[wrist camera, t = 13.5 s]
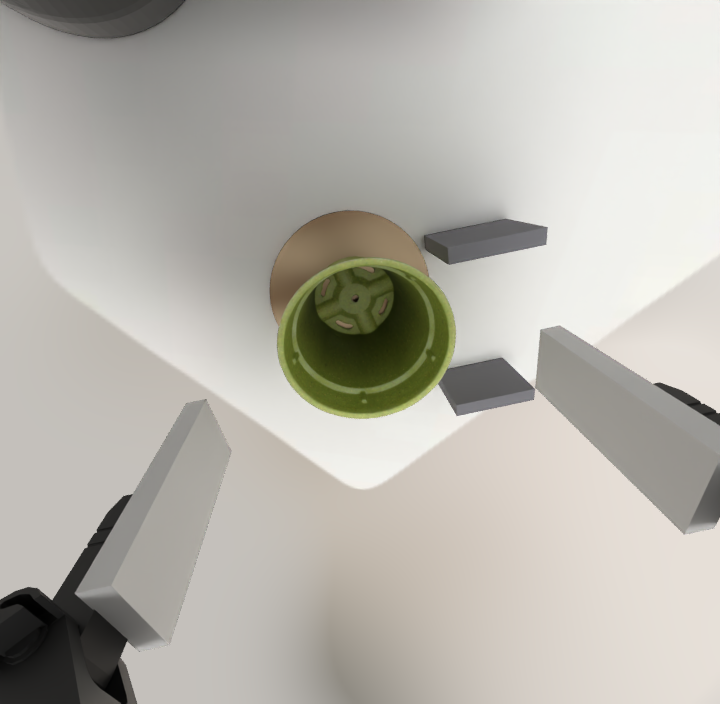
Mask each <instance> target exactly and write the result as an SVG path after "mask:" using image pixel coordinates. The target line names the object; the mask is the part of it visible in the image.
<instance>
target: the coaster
mask: <svg viewBox="0 0 720 704" xmlns="http://www.w3.org/2000/svg"><path fill="white" fill-rule="evenodd" d="M352 256H358V257H380V258H387V259H393V260H397V261H400V262H403V263H406V264H408V265H410V266H412V267H414V268H416V269H418V270H419V271H421V272H422V273H424V274H425V275H427V276H428V270H427V267H426V263H425V260H424V258H423V256H422V254H421V252H420V250H419V248H418V247H417V245H416V244H415V242H414V241H413V240H412V239H411V238H410V236H409V235H408V234H407V233H406V232H405V231H403V230H402V229H401V228H400V227H399V226H397V225H395V224H394V223H392V222H391V221H389V220H387V219H385V218H383V217H381V216H378V215H375V214H371V213H367V212H361V211H341V212H334V213H330V214H327V215H323V216H321V217H319V218H316V219H314V220H312V221H310V222H309V223H307V224H306V225H304V226H303V227H301V228H300V229H299V230H298V231H297V232H295V233H294V234H293V235H292V237H291V238H290V239H289V240H288V241H287V242H286V244H285V245H284V247H283V248H282V250H281V251H280V253H279V255H278V257H277V259H276V261H275V264H274V267H273V270H272V274H271V280H270V301H271V306H272V310H273V314H274V317H275V319H276V322H277V324H278V326H279V325H280V321H281V318H282V315H283V313H284V311H285V308H286V306H287V305H288V303H289V301H290V300H291V298H292V297H293V295H294V294H295V293H296V291H297V290H298V289H299V288H300V287H301V286H302V285H303V284H304V283H305V282H306V281H307V280H308V279H310V278H311V277H312V276H314V275H315V274H317V273H318V272H320V271H321V270H323V269H325V268H327V267H328V266H329V265H330V264H332V263H334V262H335V261H338V260H340V259H343V258H346V257H352ZM358 268H362V269H365V270H367V271H369V272H371V273H374V272H375V270H374V269H373V268H372V267H358ZM428 277H429V276H428ZM329 282H330V280H329V279H326V280H325V282H324V283H323V289H322V292H321V295H322V296H325V292H326V289H327V286H328V284H329ZM352 301H353V302H357V301H358V296H357V295H354V296H353V298H352ZM387 303H388V300H387V299H385V300H384V303H383V306H382V308H381V309H380V311H379V314H382V313H384V311H385V309H386V306H387ZM336 323H337V324H338V325H339V326H341V327H344V328H348V329H349V328H352V327H353V326H352V325H351V324H345V323H343V322H341V321H339V320H338V321H336Z"/></svg>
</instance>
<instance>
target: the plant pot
mask: <svg viewBox="0 0 720 704" xmlns="http://www.w3.org/2000/svg"><path fill="white" fill-rule="evenodd" d="M358 267H372V268H373V269H374V270H375V272H374V273H371V272H369V271H367V270H365V269H362V268H358ZM326 279H329V280H330V282H329V284H328V286H327V289H326V292H325V296H322V295H321V292H322V289H323V283H324V282H325V280H326ZM354 295H357V296H358V301H357V302H353V301H352V298H353V296H354ZM385 299H387V300H388V303H387V306H386V309H385V311H384V313H382V314H379V311H380V309H381V308H382V306H383V303H384V300H385ZM338 320H339V321H341V322H343V323H345V324H351V325H352V326H353V327H352V328H349V329H348V328H344V327H341V326H339V325H338V324H337V323H336V321H338ZM455 339H456V328H455V321H454V316H453V313H452V310H451V307H450V305H449V302H448V300H447V298H446V296H445V295H444V293H443V292H442V290H441V289H440V288H439V287H438V286H437V284H436V283H435V282H434V281H433V280H431V279H430V278H429V277H428V276H427V275H425V274H424V273H422V272H421V271H419V270H418V269H416V268H414V267H412V266H410V265H408V264H406V263H403V262H400V261H397V260H393V259H387V258H380V257H358V256H352V257H346V258H343V259H340V260H338V261H335V262H334V263H332V264H330V265H329V266H328V267H327V268H325V269H323V270H321V271H320V272H318V273H317V274H315V275H314V276H312V277H311V278H310V279H308V280H307V281H306V282H305V283H304V284H303V285H302V286H301V287H300V288H299V289H298V290H297V291H296V293H295V294H294V295H293V297H292V298H291V300H290V301H289V303H288V305H287V306H286V308H285V311H284V313H283V315H282V318H281V321H280V325H279V329H278V336H277V350H278V358H279V362H280V365H281V368H282V370H283V372H284V375H285V377H286V378H287V380H288V382H289V383H290V385H291V386H292V388H293V389H294V390H295V391H296V392H297V393H298V394H299V395H300V396H301V397H302V398H303V399H304V400H306V401H307V402H308V403H310V404H311V405H313V406H315V407H316V408H318V409H320V410H322V411H325V412H327V413H330V414H334V415H337V416H341V417H347V418H355V419H368V418H376V417H382V416H387V415H390V414H393V413H396V412H399V411H402V410H404V409H406V408H408V407H410V406H412V405H413V404H415V403H416V402H418V401H419V400H421V399H422V398H423V397H424V396H426V395H427V394H428V393H429V392H430V391H431V390H432V389H433V388H434V387H435V386H436V385H437V384H438V383H439V381H440V380H441V379H442V377H443V375H444V374H445V372H446V370H447V368H448V366H449V364H450V362H451V359H452V356H453V352H454V347H455Z"/></svg>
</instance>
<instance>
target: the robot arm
mask: <svg viewBox="0 0 720 704" xmlns="http://www.w3.org/2000/svg"><path fill="white" fill-rule="evenodd" d="M183 1H184V0H0V2H1V3H3V4H4V5H6V6H8V7H10V8H12V9H13V10H15V11H17V12H19V13H21V14H22V15H24V16H26V17H28V18H30V19H32V20H34V21H36V22H39V23H41V24H43V25H46V26H48V27H51V28H53V29H56V30H59V31H63V32H66V33H70V34H74V35H79V36H85V37H94V38H113V37H121V36H127V35H131V34H135V33H138V32H141V31H143V30H146V29H148V28H150V27H152V26H154V25H156V24H158V23H159V22H161V21H162V20H164V19H165V18H166V17H168V16H169V15H170V14H172V13H173V12H174V11H175V10H176V9H177V8H178V7H179V6H180V5H181V4H182V3H183ZM535 388H536V389H537V390H538V391H539V392H540V393H541V394H542V395H544V397H545V398H546V399H547V400H548V401H549V402H551V404H552V405H553V406H554V407H556V408H557V410H558V411H559V412H561V413H562V414H563V415H564V416H565V417H566V418H567V419H568V420H569V421H570V422H571V423H572V424H573V425H574V426H575V427H576V428H577V429H578V430H579V431H580V432H581V433H582V434H583V435H584V436H585V437H586V438H587V439H588V440H589V441H590V442H591V443H592V444H593V445H594V446H595V447H596V448H597V449H598V450H599V451H600V452H601V453H602V454H603V455H604V456H605V457H606V458H607V459H608V460H609V461H610V462H611V463H612V464H613V465H614V466H616V468H617V469H618V470H620V472H621V473H622V474H623V475H624V476H625V477H626V478H627V479H629V480H630V481H631V482H632V483H633V484H634V485H635V486H636V487H637V488H638V489H639V490H640V491H641V492H642V493H643V494H644V495H645V496H646V497H647V498H648V499H649V500H650V501H651V502H652V503H653V504H654V505H655V506H656V507H657V508H658V509H659V510H660V511H661V512H662V513H663V514H664V515H665V516H666V517H667V518H668V519H669V520H670V521H671V522H672V523H673V524H674V525H675V526H676V527H677V528H678V529H679V530H680V531H681V532H682V533H683V534H690V533H695V532H699V531H704V530H709V529H713V528H714V527H715V525H716V524H717V522H718V520H719V518H720V413H716V410H714V409H712V408H711V407H708V406H707V405H705V404H701V403H700V401H699V400H697V399H695V398H694V397H692V396H690V395H688V394H687V393H685V392H683V391H682V390H679V389H676V388H673V387H671V386H668V385H665V384H662V383H655V384H652V383H651V382H649V381H648V380H646V379H644V378H643V377H641V376H640V375H638V374H636V373H635V372H633V371H632V370H630V369H628V368H627V367H625V366H623V365H622V364H620V363H619V362H617V361H616V360H614V359H612V358H611V357H609V356H608V355H606V354H604V353H603V352H601V351H599V350H598V349H596V348H595V347H593V346H592V345H590V344H588V343H587V342H585V341H584V340H582V339H580V338H579V337H577V336H576V335H574V334H572V333H571V332H569V331H568V330H566V329H564V328H563V327H561V326H556V327H551V328H546V329H541V330H540V341H539V353H538V364H537V375H536V386H535ZM231 452H232V451H231V449H230V447H229V445H228V443H227V441H226V439H225V437H224V435H223V433H222V431H221V428H220V427H219V425H218V422H217V420H216V418H215V416H214V414H213V412H212V410H211V408H210V406H209V404H208V402H207V400H206V399H205V400H200V401H194V402H190V403H186V405H185V406H184V408H183V410H182V411H181V413H180V415H179V417H178V418H177V420H176V422H175V424H174V425H173V427H172V428H171V430H170V432H169V434H168V436H167V437H166V439H165V441H164V442H163V444H162V445H161V447H160V449H159V451H158V452H157V454H156V456H155V457H154V459H153V461H152V463H151V464H150V466H149V468H148V469H147V471H146V473H145V474H144V476H143V478H142V480H141V481H140V483H139V485H138V486H137V488H136V490H135V491H134V493H133V494H131V495H126V496H123V497H122V499H120V500H119V501H118V503H117V504H116V505H115V506H114V507H113V508H112V509H111V510H110V511H109V512H108V513H107V514H106V516H105V518H104V519H103V521H102V522H101V524H100V526H99V527H98V529H97V533H95V534H94V535H93V537H92V538H91V540H90V541H89V543H88V547H87V548H85V549H84V551H83V553H82V554H81V556H80V557H79V559H78V560H77V562H76V564H75V565H74V567H73V568H72V570H71V571H70V573H69V575H68V576H67V578H66V579H65V581H64V583H63V584H62V586H61V587H60V589H59V591H58V592H57V594H56V595H55V597H54V598H53V600H51V599H49V598H48V597H47V596H46V595H45V594H44V593H42V592H41V591H40V590H39V589H37V588H31V587H27V588H24V589H21V590H18V591H15V592H13V593H11V594H10V595H8V596H6V597H4V598H3V599H1V600H0V704H137V701H136V698H135V695H134V691H133V688H132V685H131V681H130V678H129V674H128V671H127V668H126V665H125V664H124V662H123V661H122V659H121V658H120V657H121V654H122V652H123V649H124V647H125V645H126V642H127V641H128V642H129V643H130V644H131V645H132V646H133V647H134V648H135V649H137V650H138V651H139V652H140V651H145V650H149V649H154V648H159V647H163V646H168V645H170V642H171V639H172V636H173V633H174V630H175V626H176V623H177V620H178V617H179V614H180V611H181V608H182V605H183V602H184V598H185V595H186V592H187V589H188V586H189V583H190V580H191V576H192V573H193V570H194V567H195V564H196V561H197V558H198V555H199V552H200V549H201V545H202V542H203V539H204V536H205V533H206V530H207V527H208V524H209V520H210V517H211V514H212V511H213V508H214V505H215V502H216V499H217V495H218V492H219V489H220V486H221V483H222V480H223V477H224V474H225V470H226V467H227V464H228V461H229V458H230V455H231Z"/></svg>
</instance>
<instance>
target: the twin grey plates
mask: <svg viewBox="0 0 720 704" xmlns="http://www.w3.org/2000/svg"><path fill="white" fill-rule="evenodd" d="M547 228H548V227H543V226H538V225H534V224H529V223H524V222H519V221H514V220H509V219H503V220H498V221H493V222H488V223H484V224H479V225H474V226H469V227H464V228H459V229H454V230H449V231H444V232H440V233H435V234H430V235H425V248H426V250H427V251H428V252H430V253H432V254H433V255H435V256H436V257H438V258H439V259H441V260H442V261H444V262H445V263H447V264H449V265H450V264H455V263H459V262H464V261H469V260H474V259H479V258H484V257H489V256H493V255H498V254H503V253H508V252H513V251H518V250H523V249H527V248H532V247H537V246H542V245H546V240H547ZM438 384H439V386H440V388H441V389H442V391H443V393H444V395H445V396H446V398H447V400H448V401H449V403H450V405H451V407H452V408H453V410H454V412H455V413H456V415H457V416H459V415H464V414H469V413H474V412H478V411H483V410H488V409H492V408H497V407H502V406H507V405H511V404H516V403H521V402H526V401H530V400H534V393H535V389H534V388H533V387H532V386H531V385H530V384H529V383H528V382H527V381H526V380H525V379H524V378H523V377H522V376H521V375H520V374H519V373H518V372H517V371H516V370H515V369H514V368H513V367H512V366H511V365H510V364H508V363H507V362H506V361H505V360H504V359H503V358H499V359H495V360H490V361H485V362H480V363H476V364H471V365H466V366H461V367H456V368H452V369H447V370H446V372H445V374H444V375H443V377H442V379H441V380H440V381H439V383H438Z"/></svg>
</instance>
